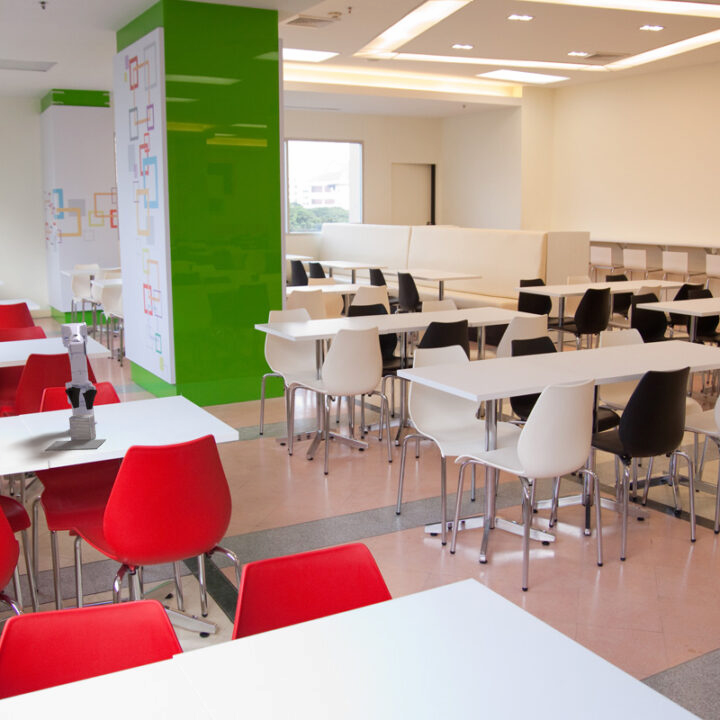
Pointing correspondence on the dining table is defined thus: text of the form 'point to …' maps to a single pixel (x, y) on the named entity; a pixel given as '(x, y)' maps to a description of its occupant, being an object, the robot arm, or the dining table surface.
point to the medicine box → (82, 427)
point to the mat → (75, 444)
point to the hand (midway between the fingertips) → (83, 408)
